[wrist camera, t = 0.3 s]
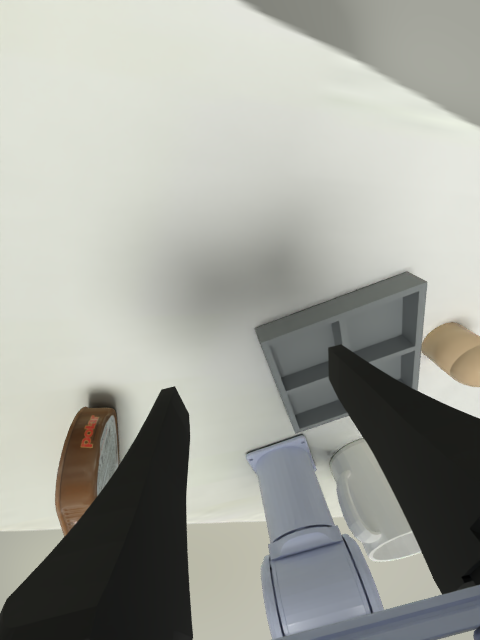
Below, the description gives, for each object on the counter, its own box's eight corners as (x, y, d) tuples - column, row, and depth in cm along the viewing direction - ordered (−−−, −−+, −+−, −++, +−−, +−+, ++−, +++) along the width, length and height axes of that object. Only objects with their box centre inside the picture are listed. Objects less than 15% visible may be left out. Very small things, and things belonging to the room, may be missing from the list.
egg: (459, 347, 27) (515, 387, 22) (419, 361, 28) (467, 403, 23) (465, 316, 25) (530, 353, 20) (422, 331, 25) (476, 371, 20)
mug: (407, 440, 36) (472, 525, 28) (365, 476, 41) (410, 559, 32) (340, 428, 32) (392, 524, 24) (302, 470, 37) (334, 564, 28)
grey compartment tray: (403, 377, 29) (417, 392, 27) (289, 416, 29) (295, 433, 28) (407, 271, 21) (427, 281, 19) (254, 328, 22) (259, 343, 20)
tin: (85, 387, 23) (35, 486, 16) (122, 388, 24) (89, 484, 17) (98, 475, 30) (67, 569, 23) (125, 474, 31) (103, 565, 24)
